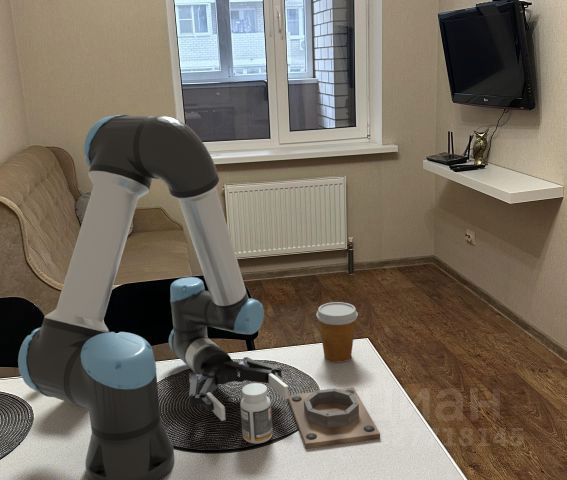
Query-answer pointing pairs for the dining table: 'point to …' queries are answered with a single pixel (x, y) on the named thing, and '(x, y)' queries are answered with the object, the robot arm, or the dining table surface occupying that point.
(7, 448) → the dining table surface
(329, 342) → the disposable coffee cup
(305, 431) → the socket plate
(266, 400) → the pill bottle
